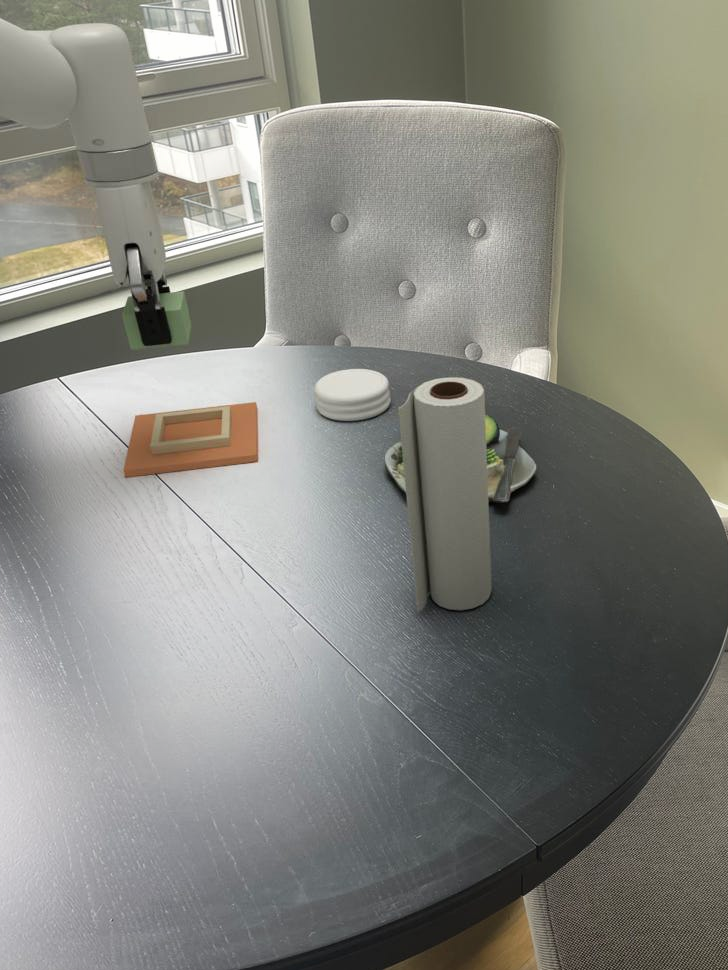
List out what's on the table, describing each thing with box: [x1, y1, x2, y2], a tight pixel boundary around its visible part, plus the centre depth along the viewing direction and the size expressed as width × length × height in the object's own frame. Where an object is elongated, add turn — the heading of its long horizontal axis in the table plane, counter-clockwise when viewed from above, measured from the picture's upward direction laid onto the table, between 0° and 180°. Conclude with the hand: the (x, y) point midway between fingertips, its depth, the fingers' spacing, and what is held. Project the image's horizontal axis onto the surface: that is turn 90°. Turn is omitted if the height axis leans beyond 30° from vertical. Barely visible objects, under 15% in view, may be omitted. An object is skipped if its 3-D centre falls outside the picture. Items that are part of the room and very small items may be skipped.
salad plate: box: [383, 413, 537, 504], centre depth 113 cm, size 19×18×5 cm
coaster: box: [313, 368, 391, 422], centre depth 130 cm, size 10×10×4 cm
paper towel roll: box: [397, 376, 493, 613], centre depth 89 cm, size 7×6×21 cm
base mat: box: [122, 401, 259, 478], centre depth 124 cm, size 16×16×2 cm
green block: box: [121, 290, 193, 351], centre depth 111 cm, size 6×6×4 cm
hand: (160, 331), depth 112 cm, fingers closed on green block, 6 cm apart
